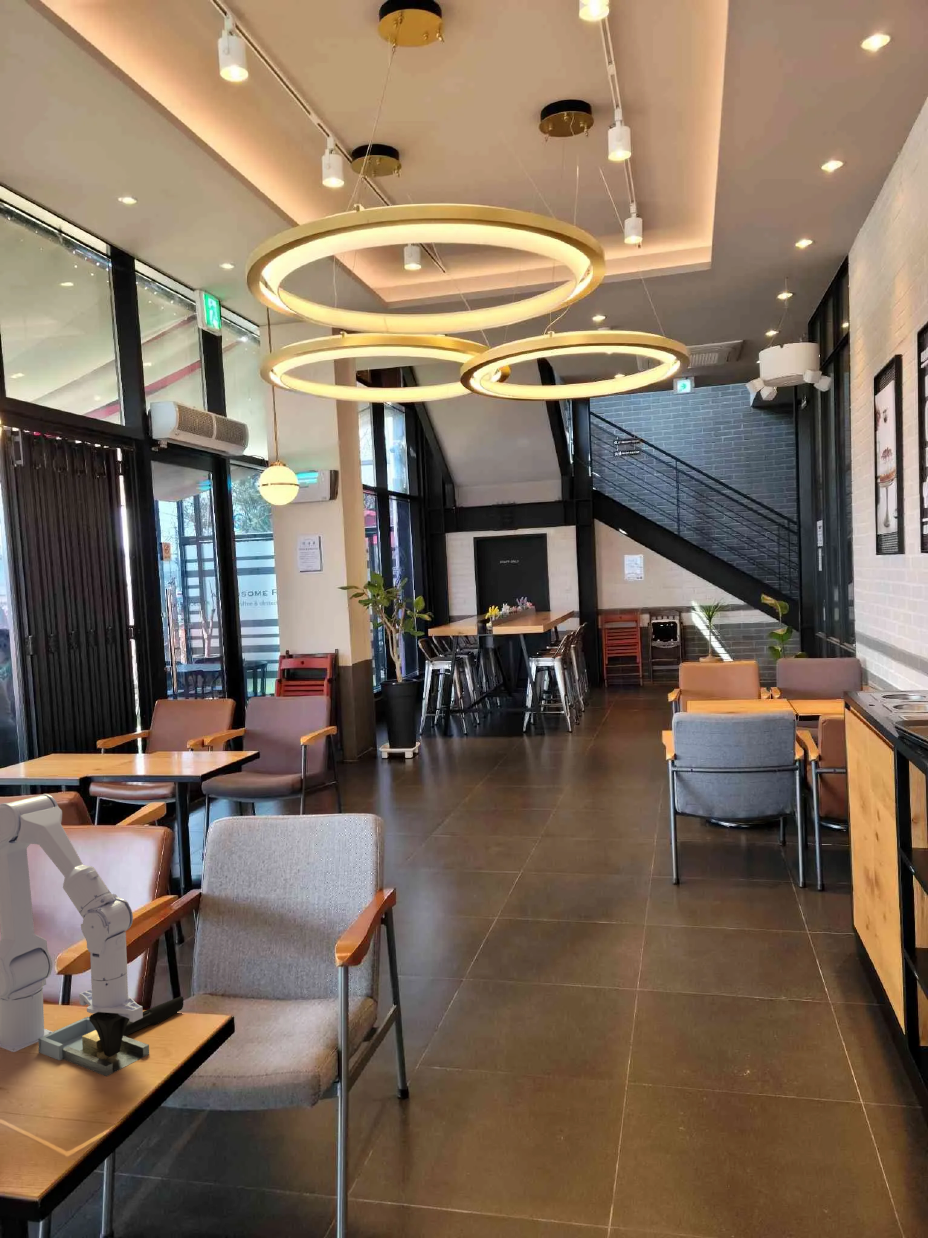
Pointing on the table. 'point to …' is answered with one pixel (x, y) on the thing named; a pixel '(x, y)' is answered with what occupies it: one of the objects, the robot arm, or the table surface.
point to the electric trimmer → (155, 1015)
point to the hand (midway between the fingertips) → (112, 1053)
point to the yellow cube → (93, 1045)
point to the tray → (65, 1038)
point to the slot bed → (126, 1056)
